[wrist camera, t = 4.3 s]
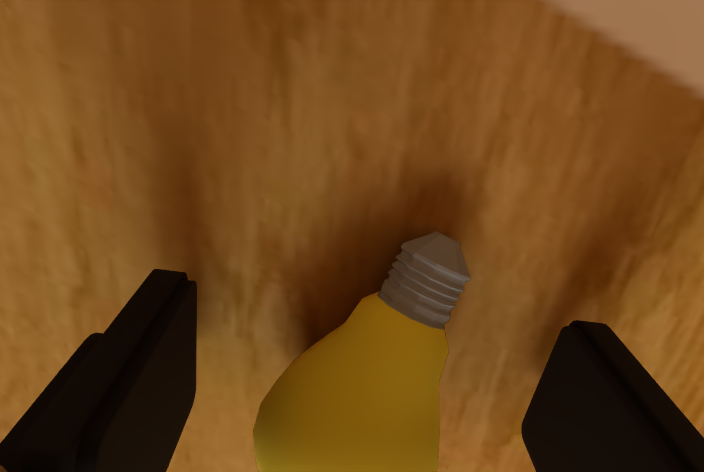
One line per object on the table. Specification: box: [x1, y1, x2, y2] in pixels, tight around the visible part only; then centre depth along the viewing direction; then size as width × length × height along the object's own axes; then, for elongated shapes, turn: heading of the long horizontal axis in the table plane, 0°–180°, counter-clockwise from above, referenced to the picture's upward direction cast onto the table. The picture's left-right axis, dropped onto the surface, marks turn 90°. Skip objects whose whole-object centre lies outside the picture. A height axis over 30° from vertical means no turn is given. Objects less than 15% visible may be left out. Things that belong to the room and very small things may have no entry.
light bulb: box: [253, 231, 471, 472], centre depth 9 cm, size 3×6×4 cm, turn 153°
